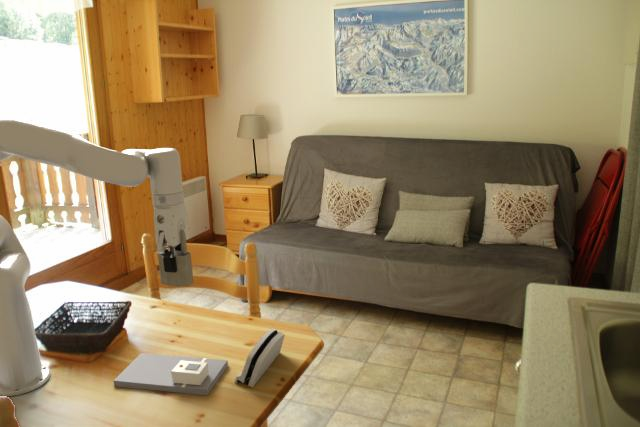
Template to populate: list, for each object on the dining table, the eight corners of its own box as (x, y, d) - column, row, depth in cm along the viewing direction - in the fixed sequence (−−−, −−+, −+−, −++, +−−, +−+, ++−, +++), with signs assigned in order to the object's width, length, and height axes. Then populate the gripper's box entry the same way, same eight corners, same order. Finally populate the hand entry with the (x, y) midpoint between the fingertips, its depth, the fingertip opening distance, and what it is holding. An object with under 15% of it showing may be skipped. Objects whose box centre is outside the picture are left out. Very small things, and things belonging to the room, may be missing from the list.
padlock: (168, 279, 145) (161, 224, 141) (195, 282, 143) (189, 226, 139) (159, 284, 142) (152, 228, 138) (186, 287, 139) (181, 231, 135)
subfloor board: (114, 386, 133) (113, 380, 132) (142, 358, 145) (141, 352, 145) (207, 395, 128) (206, 389, 127) (227, 365, 140) (227, 359, 140)
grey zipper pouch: (262, 349, 147) (272, 318, 144) (278, 357, 146) (288, 326, 142) (233, 383, 132) (243, 350, 128) (250, 392, 131) (261, 359, 127)
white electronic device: (172, 382, 130) (171, 369, 129) (182, 371, 135) (180, 358, 134) (200, 385, 129) (198, 372, 128) (208, 373, 133) (207, 361, 132)
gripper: (166, 207, 127) (174, 281, 132) (196, 191, 143) (202, 257, 148) (136, 207, 129) (145, 280, 134) (169, 190, 145) (176, 256, 150)
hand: (175, 267), depth 141 cm, fingers closed on padlock, 4 cm apart
